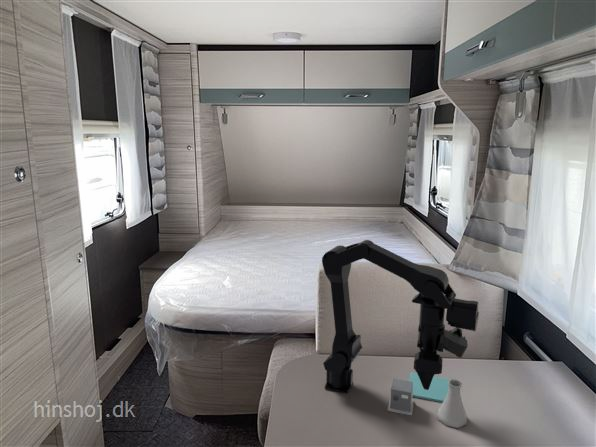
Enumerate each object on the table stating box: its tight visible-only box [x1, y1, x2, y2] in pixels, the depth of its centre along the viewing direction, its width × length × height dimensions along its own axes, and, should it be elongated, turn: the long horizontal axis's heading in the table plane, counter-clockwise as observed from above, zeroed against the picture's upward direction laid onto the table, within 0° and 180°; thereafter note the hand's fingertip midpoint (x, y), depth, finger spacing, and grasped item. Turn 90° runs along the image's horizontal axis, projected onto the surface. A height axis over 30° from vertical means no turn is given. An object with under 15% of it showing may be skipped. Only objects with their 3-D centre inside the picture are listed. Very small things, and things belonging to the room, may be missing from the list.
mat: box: [408, 371, 451, 403], centre depth 122 cm, size 11×11×1 cm
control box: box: [387, 377, 414, 416], centre depth 114 cm, size 6×6×6 cm
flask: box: [436, 378, 468, 429], centre depth 109 cm, size 7×7×10 cm
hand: (427, 379), depth 111 cm, fingers open, 9 cm apart
